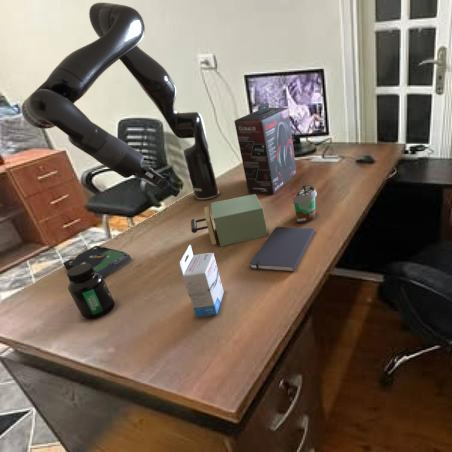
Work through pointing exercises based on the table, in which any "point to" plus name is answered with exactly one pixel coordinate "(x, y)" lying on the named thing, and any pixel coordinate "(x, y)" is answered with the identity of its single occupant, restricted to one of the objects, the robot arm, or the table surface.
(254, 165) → the headset box
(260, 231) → the cabinet
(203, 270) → the ink box
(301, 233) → the notebook
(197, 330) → the table surface
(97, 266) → the disk drive
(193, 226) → the drawer
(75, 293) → the supplement bottle
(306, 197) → the food container
